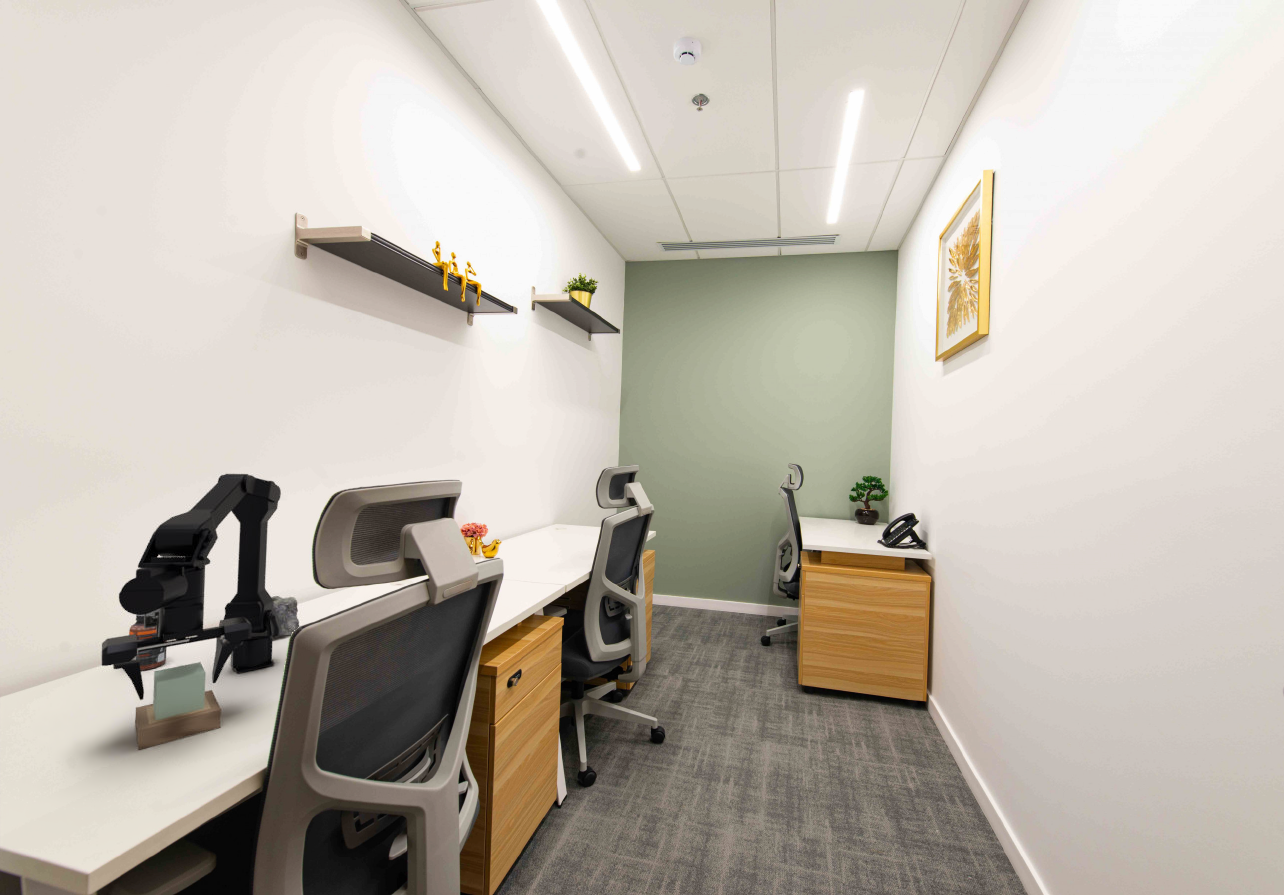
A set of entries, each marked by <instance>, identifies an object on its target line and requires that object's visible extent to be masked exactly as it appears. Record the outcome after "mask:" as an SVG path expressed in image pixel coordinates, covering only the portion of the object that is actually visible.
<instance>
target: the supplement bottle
mask: <svg viewBox="0 0 1284 895" xmlns="http://www.w3.org/2000/svg"><path fill="white" fill-rule="evenodd" d="M135 621H136V622H134V624H132V625H131V626H130V627H129V631H128V632H129V633H128V635H133V634H136V637H137V640H141V639H147V638H153V637H158V634H157V633H156V627H152V628H146V629H145V628H144V615H135ZM165 642H167V641H165ZM138 657H139V662H140V669H141V671H145V670H150V669H151V670H152V669H154V668H158V667H161V666H162V665H164V664H165V663H166V661H167V647H164V648H159V649H153V650H148V651H142V652H138Z"/></svg>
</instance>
